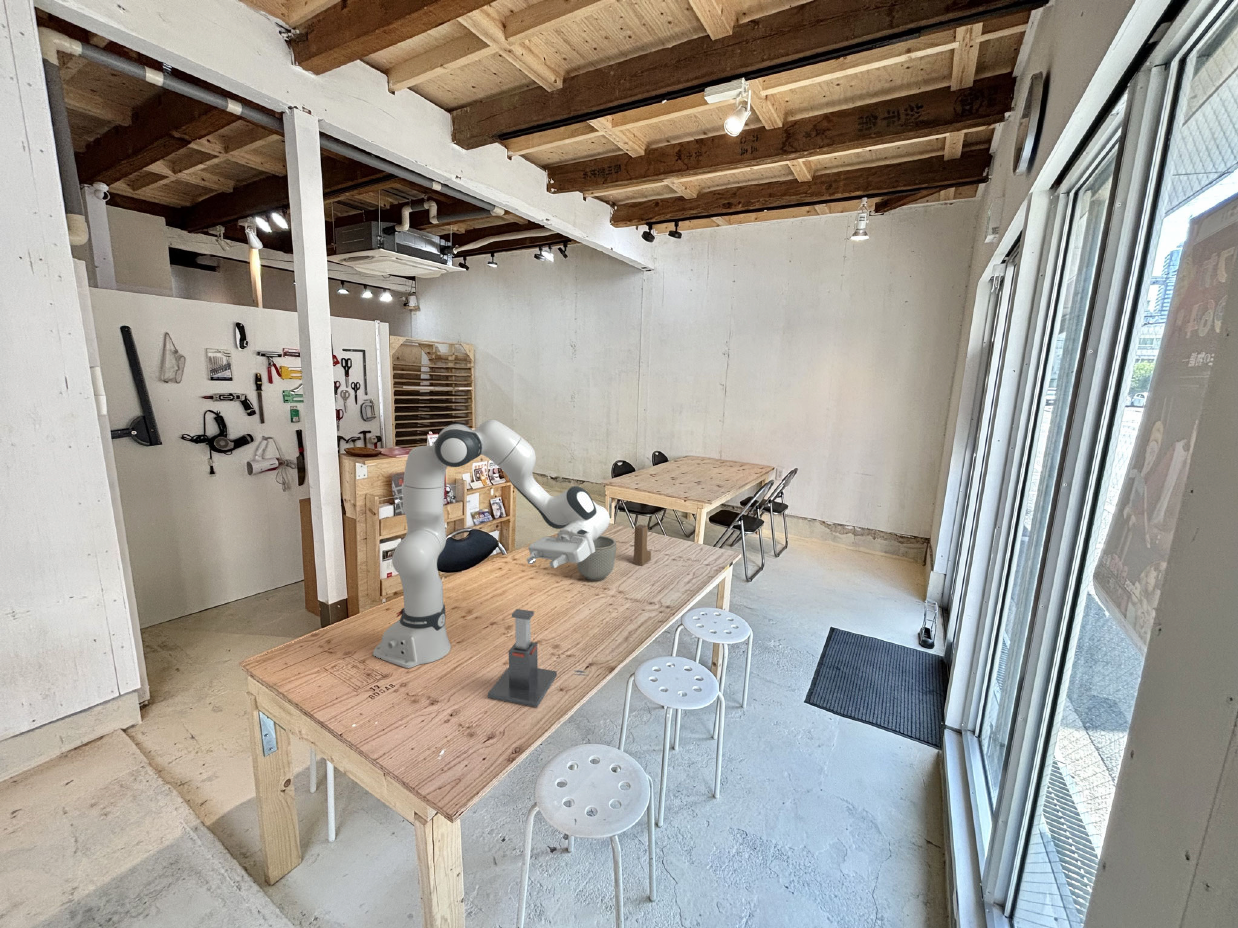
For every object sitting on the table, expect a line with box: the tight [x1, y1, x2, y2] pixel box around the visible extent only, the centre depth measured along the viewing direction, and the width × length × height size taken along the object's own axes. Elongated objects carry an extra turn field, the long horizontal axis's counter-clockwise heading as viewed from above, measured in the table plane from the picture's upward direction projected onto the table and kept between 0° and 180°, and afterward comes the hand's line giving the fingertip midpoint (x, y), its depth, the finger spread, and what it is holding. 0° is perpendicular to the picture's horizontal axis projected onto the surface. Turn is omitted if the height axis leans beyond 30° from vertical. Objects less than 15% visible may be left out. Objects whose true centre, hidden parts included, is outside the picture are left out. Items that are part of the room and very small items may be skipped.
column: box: [511, 608, 535, 652], centre depth 133 cm, size 5×3×20 cm, turn 76°
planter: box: [576, 535, 617, 582], centre depth 208 cm, size 17×17×16 cm
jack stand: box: [487, 641, 558, 708], centre depth 134 cm, size 14×14×12 cm
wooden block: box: [633, 524, 652, 567], centre depth 226 cm, size 9×4×18 cm, turn 149°
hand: (540, 563), depth 138 cm, fingers open, 8 cm apart
